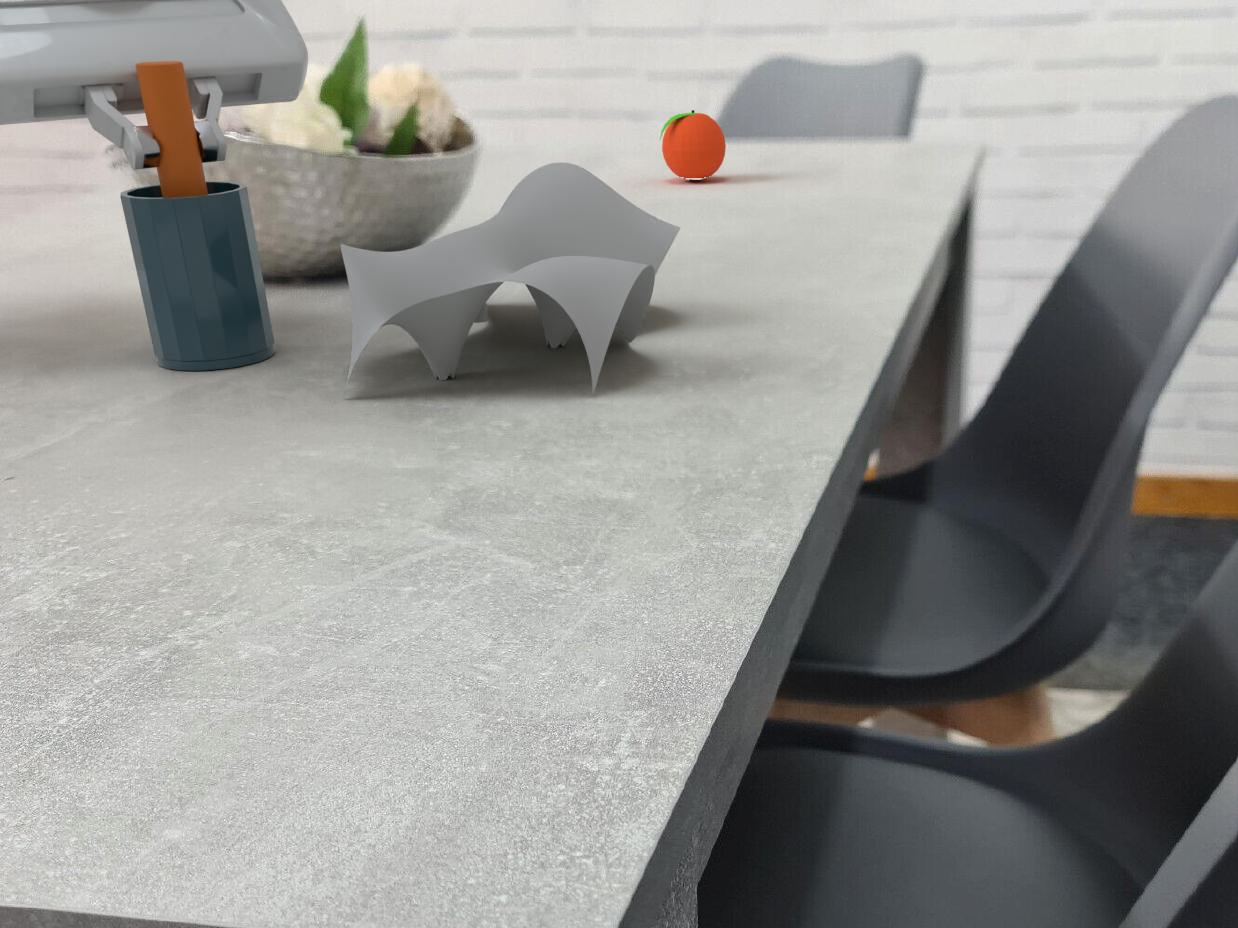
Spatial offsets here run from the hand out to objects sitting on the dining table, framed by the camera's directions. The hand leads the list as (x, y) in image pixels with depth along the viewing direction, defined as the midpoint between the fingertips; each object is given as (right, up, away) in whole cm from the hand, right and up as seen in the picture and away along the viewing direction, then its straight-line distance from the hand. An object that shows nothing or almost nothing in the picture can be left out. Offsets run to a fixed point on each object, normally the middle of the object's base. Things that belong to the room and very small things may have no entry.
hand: (181, 158), depth 85 cm
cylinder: (0, -5, +3) cm, 6 cm away
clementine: (+28, +26, +72) cm, 81 cm away
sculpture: (+19, -9, +7) cm, 23 cm away
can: (0, -10, +6) cm, 12 cm away
